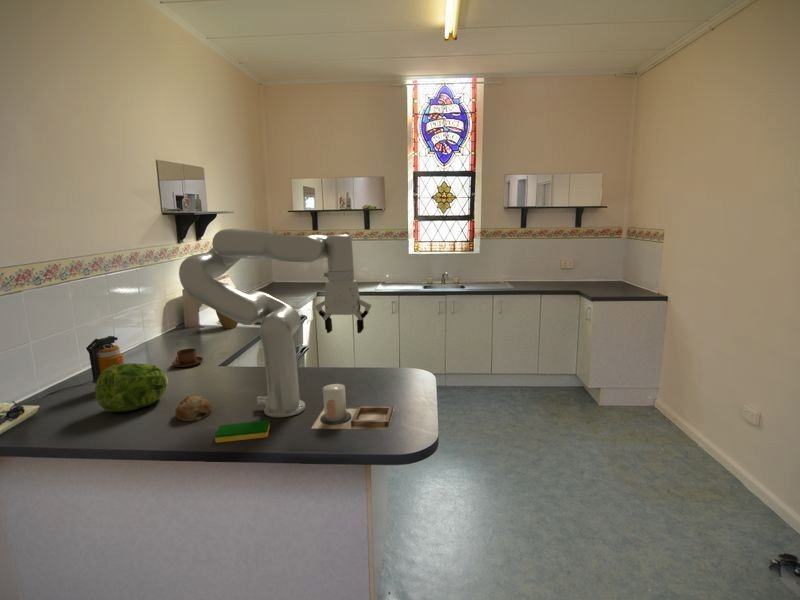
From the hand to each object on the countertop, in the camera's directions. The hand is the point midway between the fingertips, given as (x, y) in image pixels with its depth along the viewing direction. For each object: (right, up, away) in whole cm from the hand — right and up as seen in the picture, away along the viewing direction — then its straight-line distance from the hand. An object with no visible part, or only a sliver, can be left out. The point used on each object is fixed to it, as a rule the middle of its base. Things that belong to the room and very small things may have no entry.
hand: (344, 332), depth 144 cm
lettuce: (-70, -26, +13) cm, 76 cm away
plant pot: (-81, -6, +126) cm, 150 cm away
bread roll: (-48, -27, +4) cm, 55 cm away
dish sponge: (-27, -29, -10) cm, 41 cm away
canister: (-89, -24, +29) cm, 97 cm away
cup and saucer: (-73, -18, +58) cm, 95 cm away
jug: (-2, -25, -6) cm, 26 cm away
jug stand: (+3, -26, -5) cm, 27 cm away
